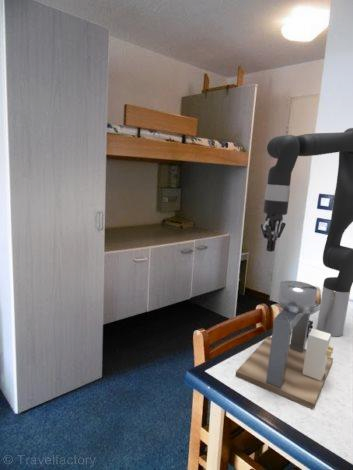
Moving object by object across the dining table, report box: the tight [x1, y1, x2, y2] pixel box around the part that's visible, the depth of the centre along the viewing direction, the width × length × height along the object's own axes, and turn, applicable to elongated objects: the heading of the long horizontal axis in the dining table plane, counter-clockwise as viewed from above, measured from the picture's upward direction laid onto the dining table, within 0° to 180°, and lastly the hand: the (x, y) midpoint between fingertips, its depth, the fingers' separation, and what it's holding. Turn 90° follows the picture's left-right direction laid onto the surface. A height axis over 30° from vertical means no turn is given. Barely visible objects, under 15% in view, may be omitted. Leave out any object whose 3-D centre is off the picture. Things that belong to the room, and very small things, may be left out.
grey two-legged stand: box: [266, 280, 318, 389], centre depth 95 cm, size 26×10×24 cm, turn 146°
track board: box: [235, 336, 334, 410], centre depth 98 cm, size 27×21×2 cm
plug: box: [302, 328, 334, 381], centre depth 92 cm, size 5×6×12 cm
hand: (270, 250), depth 110 cm, fingers closed
